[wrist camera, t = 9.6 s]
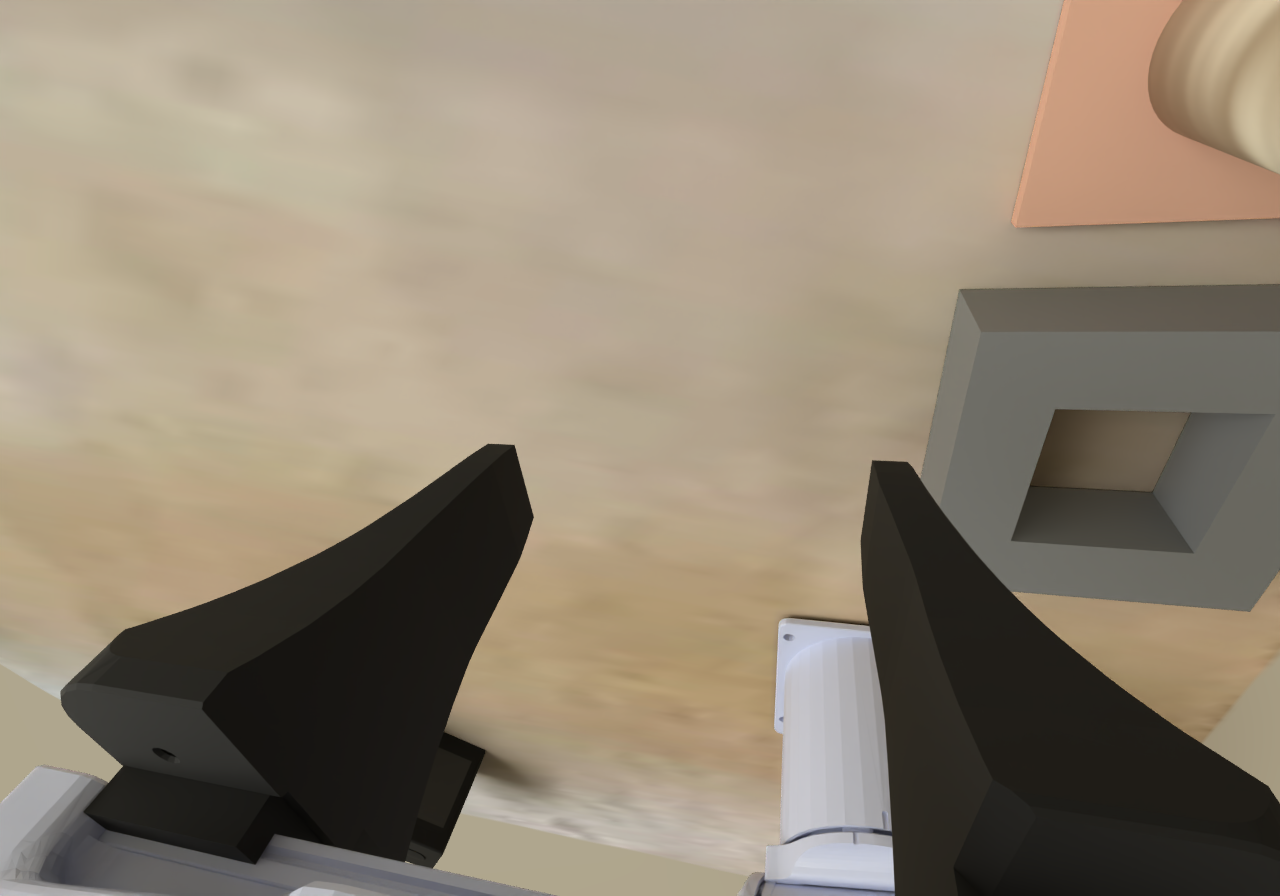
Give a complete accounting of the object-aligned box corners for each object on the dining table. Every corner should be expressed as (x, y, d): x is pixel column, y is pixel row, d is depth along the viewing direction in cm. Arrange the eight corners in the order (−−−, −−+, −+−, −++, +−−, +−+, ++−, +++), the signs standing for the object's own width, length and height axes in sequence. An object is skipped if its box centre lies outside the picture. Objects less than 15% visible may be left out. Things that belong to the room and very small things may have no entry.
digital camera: (492, 743, 44) (447, 851, 39) (474, 771, 47) (431, 874, 42) (355, 684, 43) (290, 785, 38) (347, 716, 46) (286, 814, 41)
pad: (1355, 209, 16) (1369, 214, 16) (1011, 221, 18) (1015, 227, 17) (1601, -242, 11) (1629, -250, 11) (1103, -162, 13) (1111, -167, 13)
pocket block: (1203, 546, 23) (1249, 611, 20) (910, 527, 25) (921, 584, 23) (1358, 283, 17) (1449, 330, 15) (959, 289, 19) (981, 331, 17)
